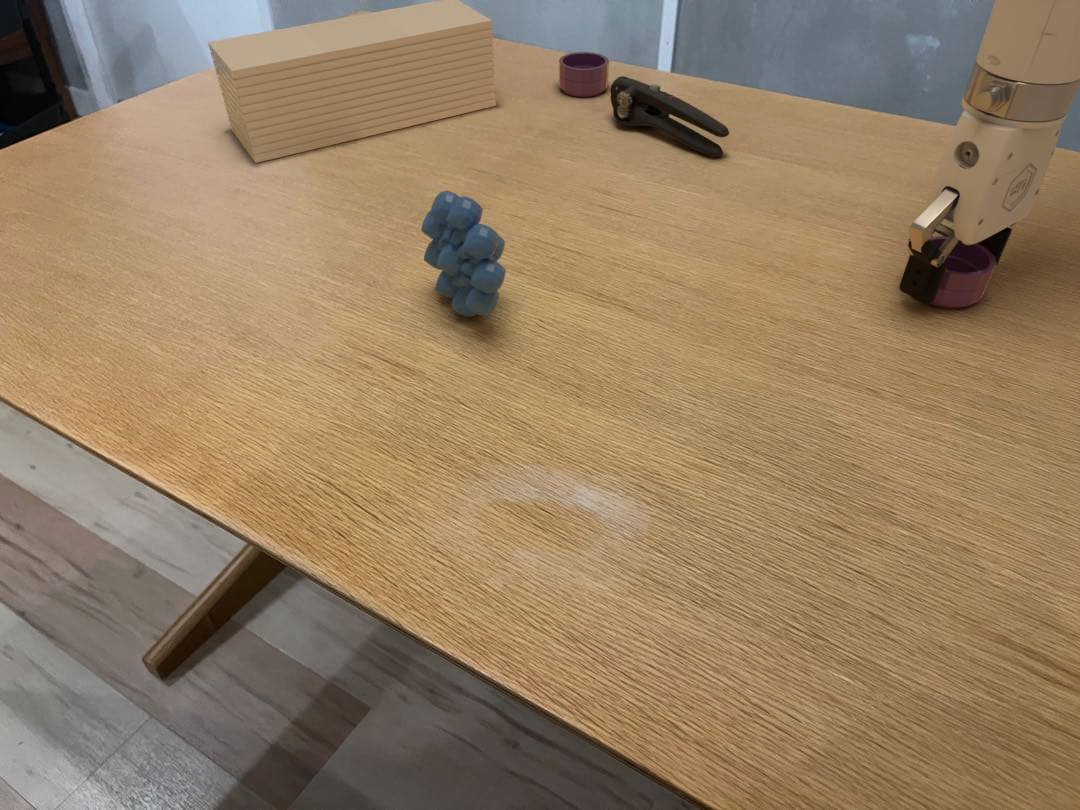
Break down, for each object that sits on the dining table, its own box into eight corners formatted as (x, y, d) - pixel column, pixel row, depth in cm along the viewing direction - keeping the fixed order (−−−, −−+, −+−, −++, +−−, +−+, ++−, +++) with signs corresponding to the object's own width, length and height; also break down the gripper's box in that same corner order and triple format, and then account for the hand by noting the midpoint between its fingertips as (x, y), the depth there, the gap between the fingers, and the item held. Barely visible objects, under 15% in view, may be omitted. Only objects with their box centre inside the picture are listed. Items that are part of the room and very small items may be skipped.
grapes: (543, 329, 72) (542, 206, 64) (476, 356, 69) (466, 231, 61) (475, 269, 79) (467, 151, 71) (413, 292, 76) (396, 172, 68)
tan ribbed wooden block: (255, 163, 96) (231, 70, 89) (231, 130, 103) (207, 41, 96) (496, 106, 108) (492, 19, 101) (460, 80, 115) (454, -3, 108)
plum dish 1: (603, 78, 115) (604, 50, 112) (611, 97, 110) (612, 68, 108) (556, 81, 114) (556, 53, 112) (562, 99, 110) (562, 70, 107)
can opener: (595, 121, 104) (597, 76, 101) (634, 106, 108) (636, 62, 104) (702, 168, 94) (708, 121, 90) (741, 150, 98) (748, 104, 94)
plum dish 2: (959, 268, 78) (973, 233, 76) (994, 308, 74) (1010, 272, 71) (892, 273, 78) (904, 238, 75) (924, 313, 73) (937, 277, 71)
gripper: (1000, 137, 57) (926, 332, 69) (1125, 79, 65) (1039, 264, 76) (908, 103, 62) (853, 292, 73) (1034, 52, 69) (966, 231, 81)
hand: (948, 278), depth 75 cm, fingers open, 9 cm apart
